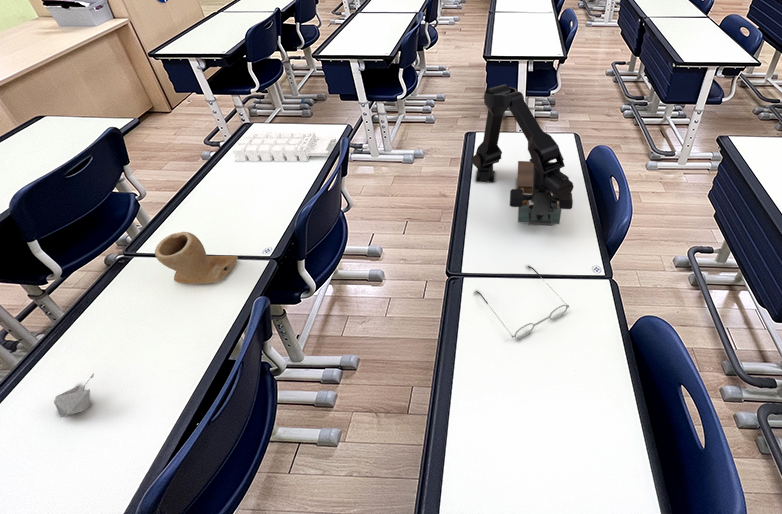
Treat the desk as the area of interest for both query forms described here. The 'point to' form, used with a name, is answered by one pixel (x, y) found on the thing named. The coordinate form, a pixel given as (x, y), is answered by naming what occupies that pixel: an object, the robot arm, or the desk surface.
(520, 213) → the drawer
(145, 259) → the desk surface
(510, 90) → the robot arm
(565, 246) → the desk surface
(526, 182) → the cabinet
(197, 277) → the clay pipe
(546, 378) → the desk surface
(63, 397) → the grey faceted ornament
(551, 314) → the eyeglasses
